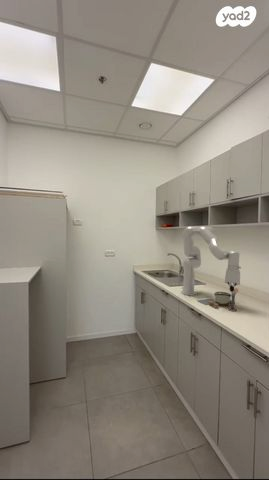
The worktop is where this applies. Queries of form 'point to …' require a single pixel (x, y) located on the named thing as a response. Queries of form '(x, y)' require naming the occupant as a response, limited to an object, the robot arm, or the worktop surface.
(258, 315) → the worktop surface
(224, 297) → the food container
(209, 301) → the wooden blocks
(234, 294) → the tall wooden post
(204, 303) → the mat
